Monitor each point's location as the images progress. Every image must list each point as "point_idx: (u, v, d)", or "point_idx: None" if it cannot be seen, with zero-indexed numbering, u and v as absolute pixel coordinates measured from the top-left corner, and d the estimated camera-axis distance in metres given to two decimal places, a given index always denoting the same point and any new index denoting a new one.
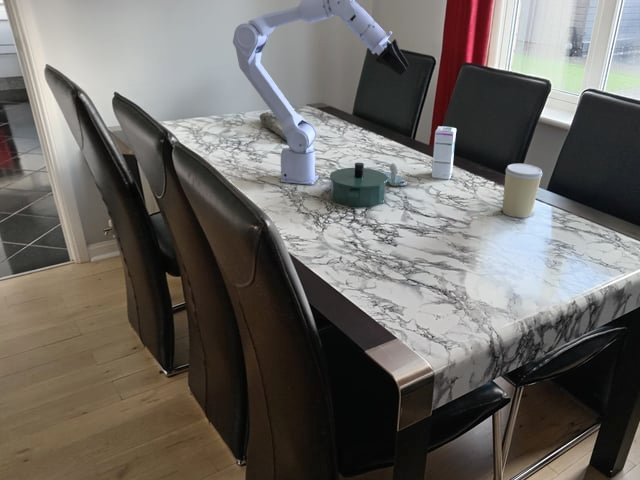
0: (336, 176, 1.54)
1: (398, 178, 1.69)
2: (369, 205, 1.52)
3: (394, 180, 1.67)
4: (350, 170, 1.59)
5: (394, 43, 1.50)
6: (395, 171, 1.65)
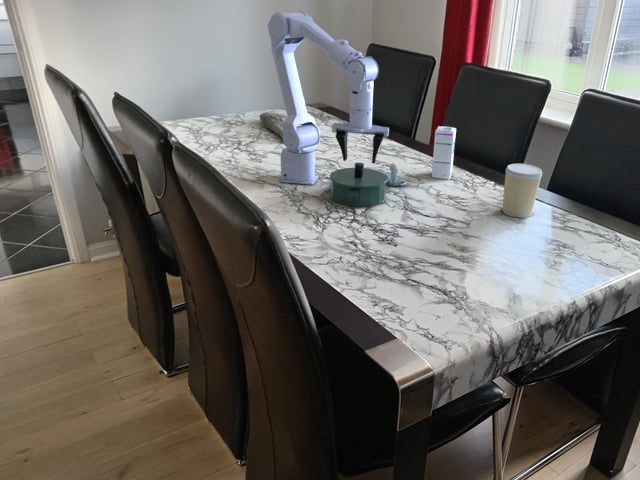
0: (336, 176, 1.54)
1: (398, 178, 1.69)
2: (369, 205, 1.52)
3: (394, 180, 1.67)
4: (350, 170, 1.59)
5: (373, 140, 1.47)
6: (395, 171, 1.65)
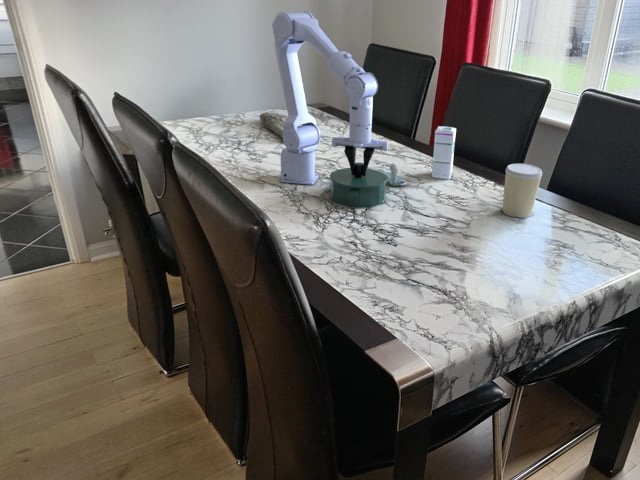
0: (336, 176, 1.54)
1: (398, 178, 1.69)
2: (369, 205, 1.52)
3: (394, 180, 1.67)
4: (350, 170, 1.59)
5: None
6: (395, 171, 1.65)
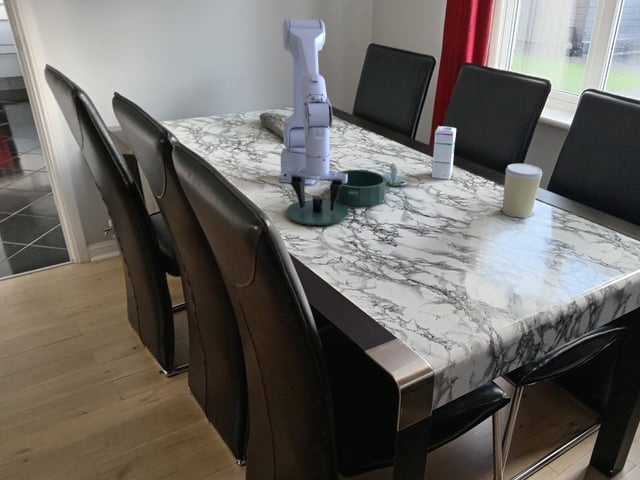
0: (293, 211, 1.44)
1: (398, 178, 1.69)
2: (369, 205, 1.52)
3: (394, 180, 1.67)
4: (309, 203, 1.49)
5: None
6: (395, 171, 1.65)
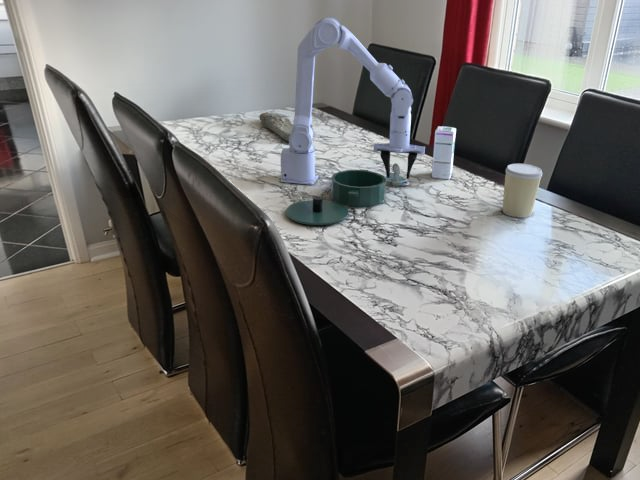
0: (293, 211, 1.44)
1: (401, 178, 1.70)
2: (369, 205, 1.52)
3: (397, 180, 1.67)
4: (309, 203, 1.49)
5: None
6: (398, 171, 1.66)
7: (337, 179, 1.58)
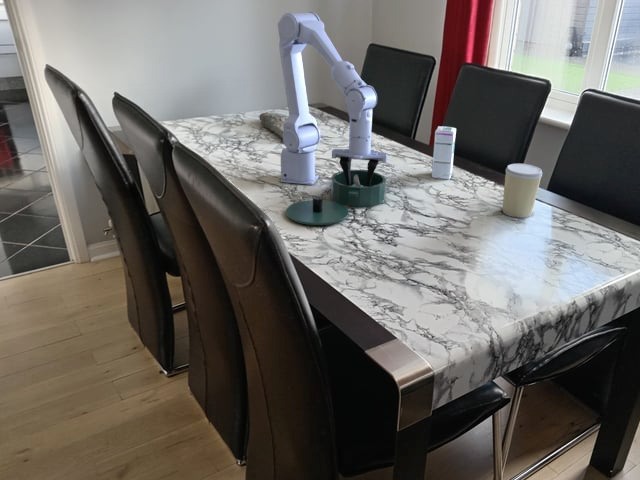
0: (293, 211, 1.44)
1: None
2: (369, 205, 1.52)
3: None
4: (309, 203, 1.49)
5: None
6: (356, 183, 1.53)
7: (337, 179, 1.58)
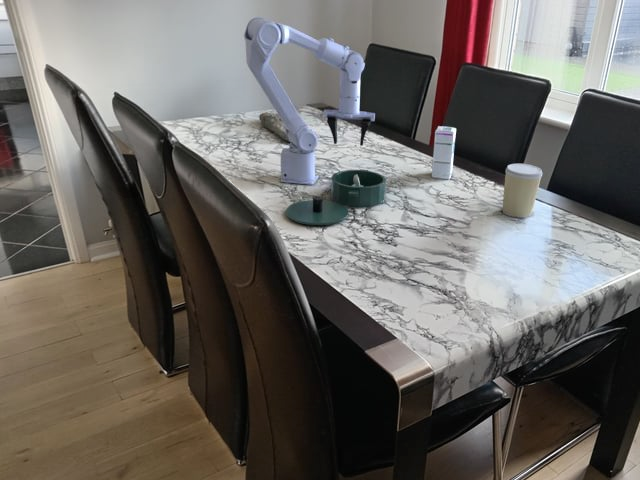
0: (293, 211, 1.44)
1: None
2: (369, 205, 1.52)
3: None
4: (309, 203, 1.49)
5: (361, 124, 1.64)
6: (356, 183, 1.53)
7: (337, 179, 1.58)
